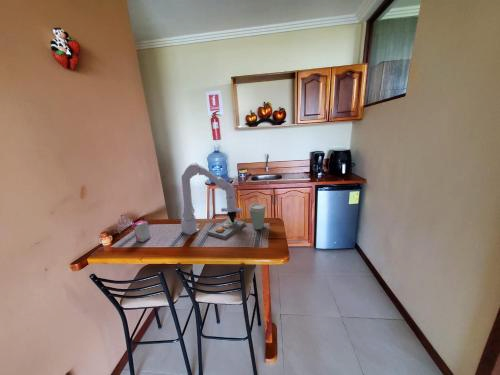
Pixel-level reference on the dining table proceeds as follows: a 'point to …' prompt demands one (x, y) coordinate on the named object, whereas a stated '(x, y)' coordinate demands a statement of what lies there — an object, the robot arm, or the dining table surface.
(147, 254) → the dining table surface
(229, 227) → the ivory button
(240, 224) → the button panel
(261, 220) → the disposable coffee cup
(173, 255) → the dining table surface
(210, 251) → the dining table surface
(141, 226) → the supplement box
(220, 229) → the terracotta button
